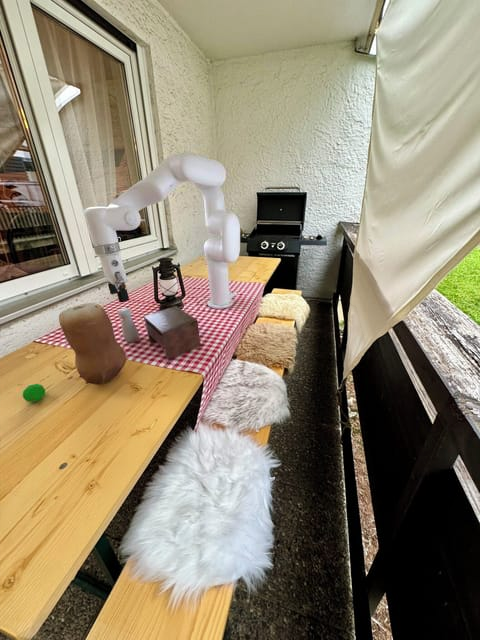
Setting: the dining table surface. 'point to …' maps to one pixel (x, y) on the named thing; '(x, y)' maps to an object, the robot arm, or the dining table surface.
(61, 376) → the dining table surface
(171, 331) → the dark walnut cube
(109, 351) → the butternut squash
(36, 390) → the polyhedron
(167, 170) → the robot arm
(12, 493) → the dining table surface
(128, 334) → the salt shaker
